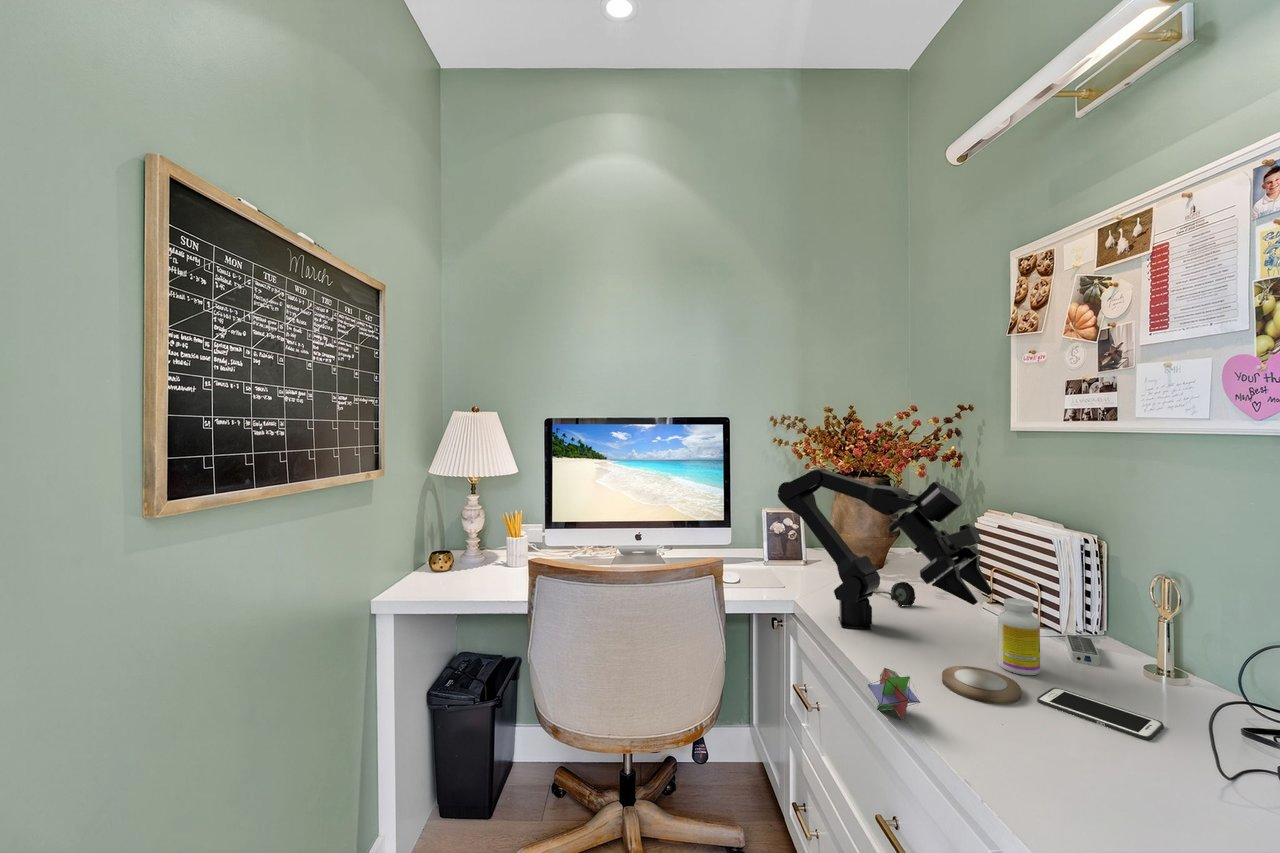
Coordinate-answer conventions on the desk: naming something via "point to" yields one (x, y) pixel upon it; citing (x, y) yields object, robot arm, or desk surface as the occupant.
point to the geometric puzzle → (893, 692)
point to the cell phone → (1102, 713)
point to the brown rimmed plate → (981, 685)
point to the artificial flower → (902, 593)
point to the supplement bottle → (1019, 638)
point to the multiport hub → (1082, 650)
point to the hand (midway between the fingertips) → (983, 598)
